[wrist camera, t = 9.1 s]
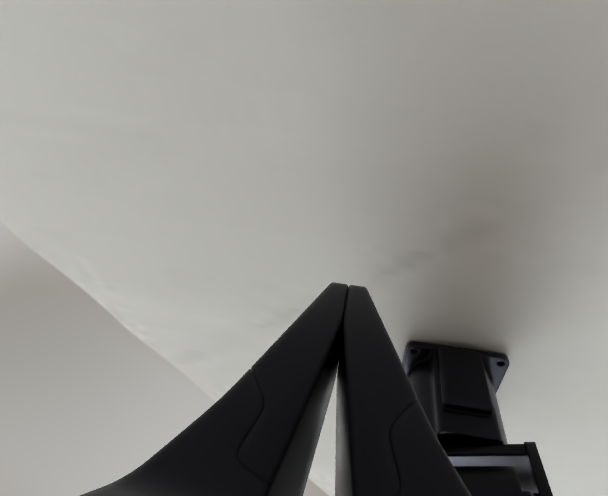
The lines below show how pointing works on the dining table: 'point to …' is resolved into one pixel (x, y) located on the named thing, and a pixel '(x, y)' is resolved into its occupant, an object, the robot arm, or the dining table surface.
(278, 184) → the dining table surface
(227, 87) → the dining table surface
